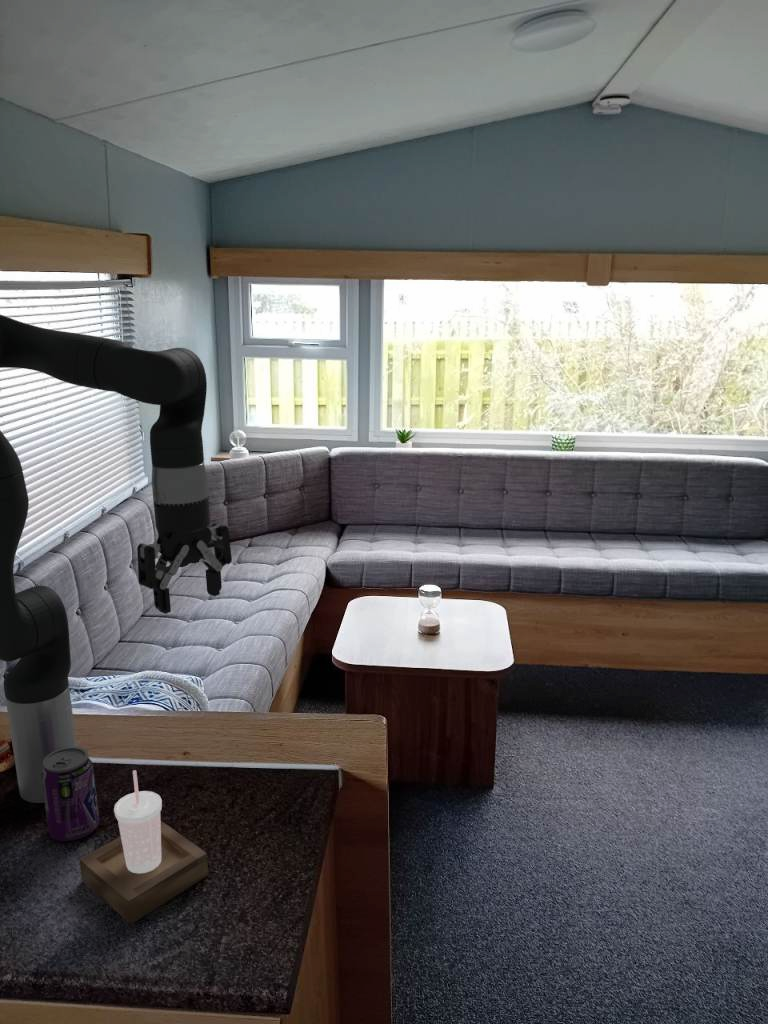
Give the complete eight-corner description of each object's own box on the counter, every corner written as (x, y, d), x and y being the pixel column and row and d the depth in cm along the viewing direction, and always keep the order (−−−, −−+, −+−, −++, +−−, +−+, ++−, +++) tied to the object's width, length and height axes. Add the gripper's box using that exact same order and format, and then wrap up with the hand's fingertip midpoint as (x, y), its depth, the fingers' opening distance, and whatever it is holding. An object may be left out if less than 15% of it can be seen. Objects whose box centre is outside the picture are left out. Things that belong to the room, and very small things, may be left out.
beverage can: (83, 848, 122) (74, 774, 119) (39, 842, 123) (28, 769, 120) (108, 817, 129) (100, 747, 125) (66, 812, 130) (57, 742, 127)
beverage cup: (152, 841, 119) (143, 752, 115) (175, 861, 115) (167, 771, 111) (112, 861, 115) (101, 771, 111) (134, 884, 111) (124, 790, 107)
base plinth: (82, 881, 115) (79, 859, 114) (158, 837, 124) (155, 817, 123) (131, 924, 108) (128, 901, 107) (208, 874, 116) (206, 853, 115)
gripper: (206, 481, 126) (213, 583, 130) (120, 500, 116) (131, 611, 120) (238, 489, 121) (244, 595, 126) (151, 510, 111) (162, 625, 115)
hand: (189, 603), depth 123 cm, fingers open, 8 cm apart
